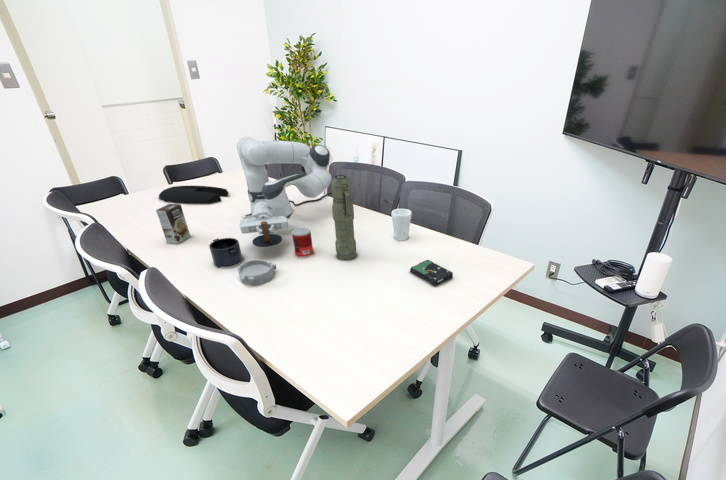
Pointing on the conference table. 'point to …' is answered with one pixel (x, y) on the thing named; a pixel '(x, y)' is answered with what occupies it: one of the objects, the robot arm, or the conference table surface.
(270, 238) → the lid
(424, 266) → the disk drive
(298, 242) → the canned food
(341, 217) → the thermos
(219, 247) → the pot
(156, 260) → the conference table surface
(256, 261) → the dish
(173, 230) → the coffee box
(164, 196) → the black flat oval slab
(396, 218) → the foam cup
